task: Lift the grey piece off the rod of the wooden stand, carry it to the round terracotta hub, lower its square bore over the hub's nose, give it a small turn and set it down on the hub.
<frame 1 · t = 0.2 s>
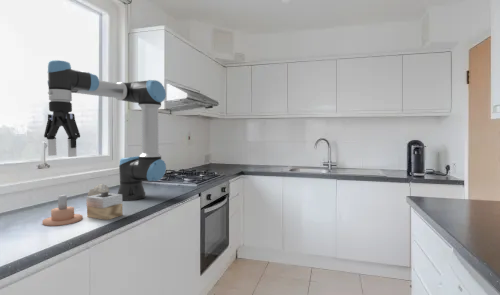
hand: (62, 156, 116), 27 cm above the worktop, tool pointing down, fingers open, 13 cm apart
stand: (105, 216, 129), on the worktop
hub: (63, 220, 122), on the worktop
stone: (99, 208, 143), on the worktop
grey piece: (104, 204, 129), point 5 cm above the worktop, touching stand
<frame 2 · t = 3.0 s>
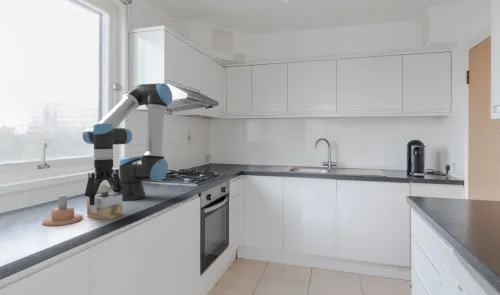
hand: (104, 209, 129), 3 cm above the worktop, tool pointing down, fingers closed on grey piece, 10 cm apart
grey piece: (104, 204, 129), point 5 cm above the worktop, touching gripper, stand
everything else where it was.
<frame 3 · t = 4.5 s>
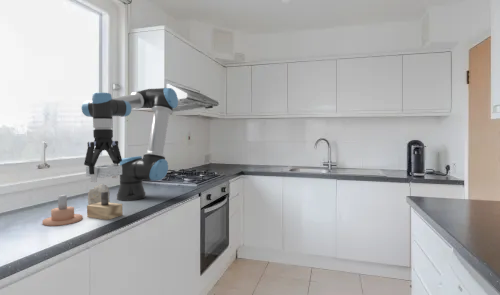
hand: (104, 179, 129), 16 cm above the worktop, tool pointing down, fingers closed on grey piece, 10 cm apart
grey piece: (104, 175, 129), point 18 cm above the worktop, touching gripper
everything else where it was.
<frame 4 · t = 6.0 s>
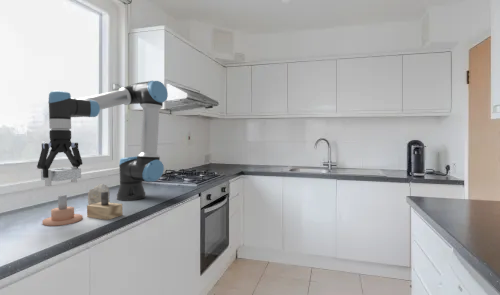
hand: (61, 183, 122), 15 cm above the worktop, tool pointing down, fingers closed on grey piece, 10 cm apart
grey piece: (61, 178, 122), point 17 cm above the worktop, touching gripper
everything else where it was.
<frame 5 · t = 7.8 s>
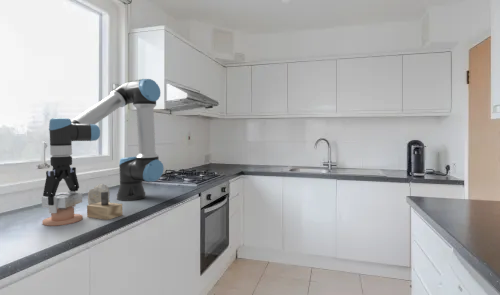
hand: (63, 209, 122), 5 cm above the worktop, tool pointing down, fingers closed on grey piece, 10 cm apart
grey piece: (62, 204, 122), point 7 cm above the worktop, touching gripper
everything else where it was.
when the fingers open (5 cm above the worktop, at t = 9.1 s): grey piece drops 2 cm, resting on hub.
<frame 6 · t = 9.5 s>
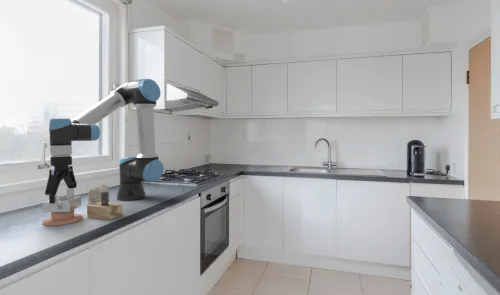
hand: (62, 207, 122), 6 cm above the worktop, tool pointing down, fingers open, 13 cm apart
grey piece: (63, 208, 122), point 5 cm above the worktop, touching hub
everything else where it was.
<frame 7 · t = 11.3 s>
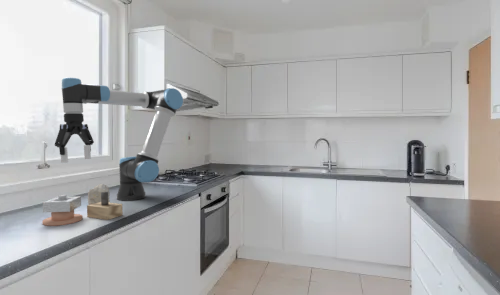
hand: (76, 160, 133), 24 cm above the worktop, tool pointing down, fingers open, 13 cm apart
nothing on the worktop moved.
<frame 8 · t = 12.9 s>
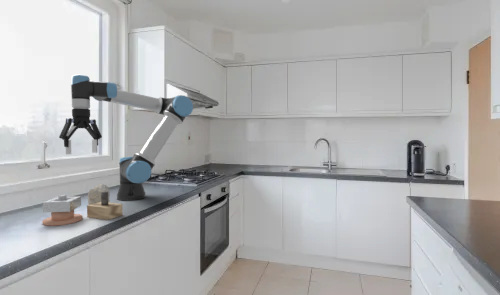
hand: (82, 153, 141), 27 cm above the worktop, tool pointing down, fingers open, 13 cm apart
nothing on the worktop moved.
at the end: grey piece 0.1 cm off-centre on the hub, point 5.0 cm above the hub's base; the gripper is holding nothing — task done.
